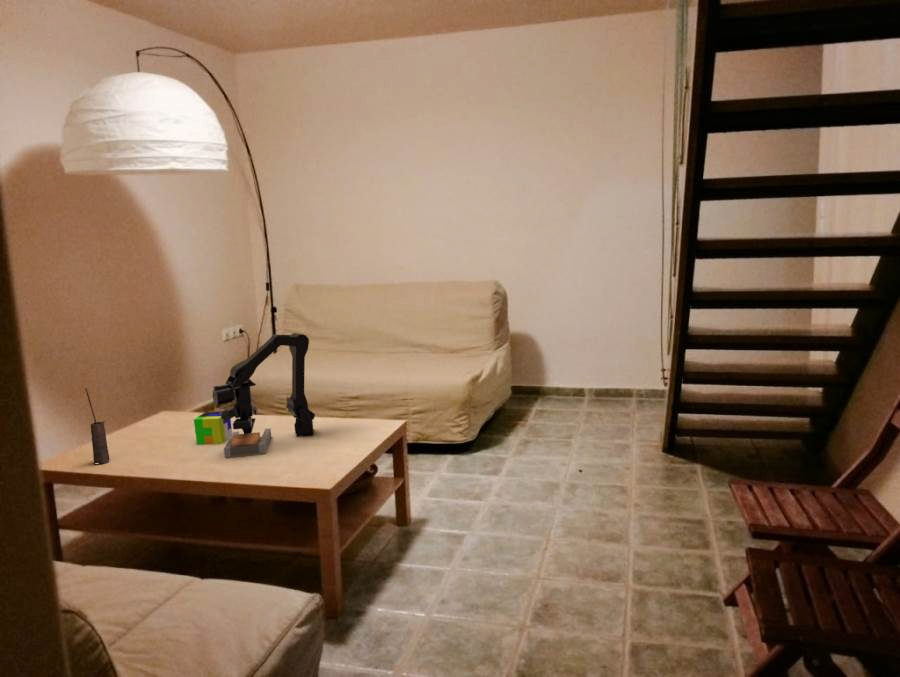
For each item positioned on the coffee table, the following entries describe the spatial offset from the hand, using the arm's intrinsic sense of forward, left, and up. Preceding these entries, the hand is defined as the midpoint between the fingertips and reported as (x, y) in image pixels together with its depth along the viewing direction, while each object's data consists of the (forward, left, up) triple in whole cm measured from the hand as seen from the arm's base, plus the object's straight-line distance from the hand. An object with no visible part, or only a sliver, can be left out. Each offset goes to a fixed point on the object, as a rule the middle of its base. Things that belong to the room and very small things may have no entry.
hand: (248, 439), depth 257 cm
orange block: (0, +5, -3) cm, 6 cm away
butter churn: (+51, 0, -3) cm, 51 cm away
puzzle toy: (+15, -14, -3) cm, 21 cm away
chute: (0, 0, -3) cm, 3 cm away
